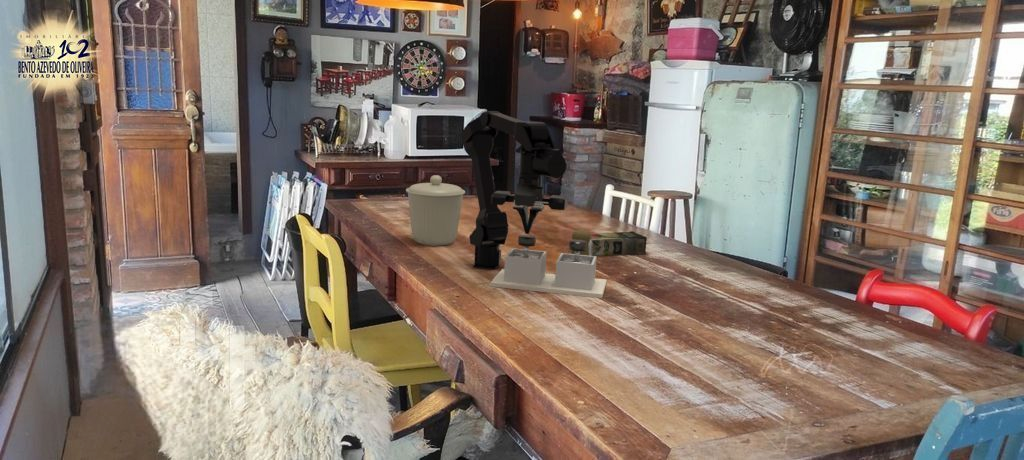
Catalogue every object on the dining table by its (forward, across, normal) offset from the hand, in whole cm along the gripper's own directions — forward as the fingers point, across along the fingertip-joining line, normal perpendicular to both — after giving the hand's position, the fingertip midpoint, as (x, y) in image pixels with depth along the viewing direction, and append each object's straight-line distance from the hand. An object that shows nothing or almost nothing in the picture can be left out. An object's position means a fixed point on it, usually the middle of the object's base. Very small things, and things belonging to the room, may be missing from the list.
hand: (527, 233), depth 185 cm
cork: (+13, +12, +19) cm, 26 cm away
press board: (+13, +6, 0) cm, 14 cm away
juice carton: (+13, +19, +44) cm, 50 cm away
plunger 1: (+7, 0, 0) cm, 7 cm away
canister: (+13, -35, +34) cm, 50 cm away
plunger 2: (+6, +13, 0) cm, 15 cm away
